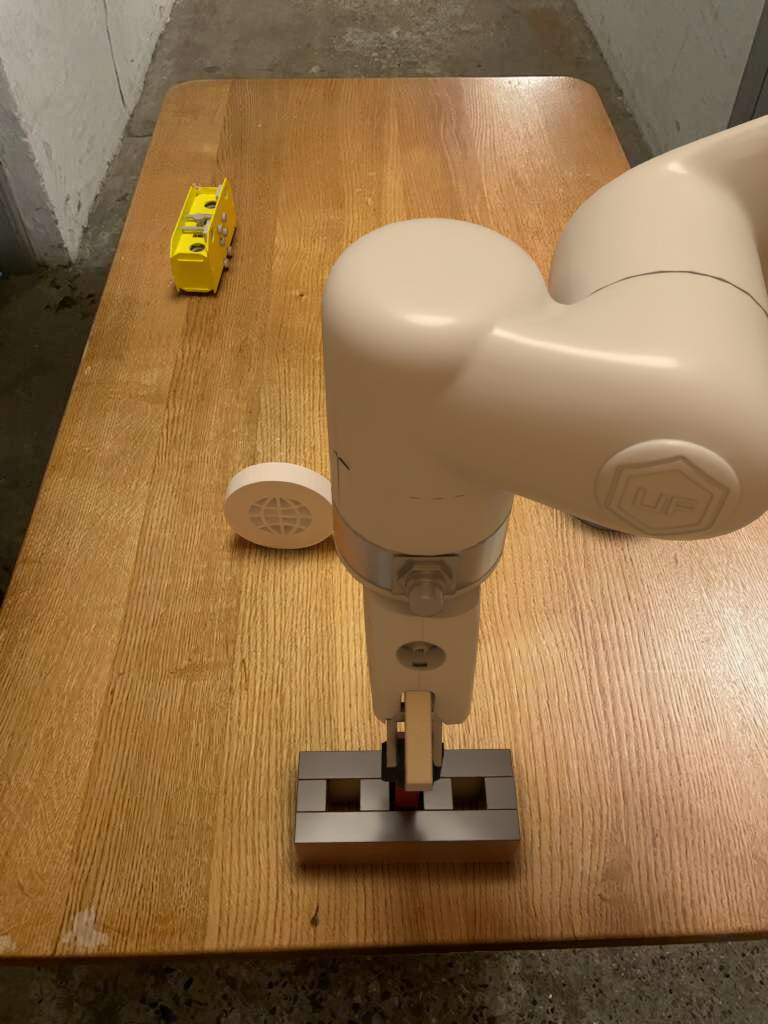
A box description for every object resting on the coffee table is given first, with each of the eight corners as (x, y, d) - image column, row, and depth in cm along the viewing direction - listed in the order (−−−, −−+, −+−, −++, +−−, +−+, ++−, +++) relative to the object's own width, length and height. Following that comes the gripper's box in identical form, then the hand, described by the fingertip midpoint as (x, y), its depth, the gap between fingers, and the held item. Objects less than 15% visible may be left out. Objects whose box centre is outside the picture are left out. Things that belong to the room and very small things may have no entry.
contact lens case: (231, 547, 81) (215, 479, 73) (235, 529, 83) (219, 460, 75) (458, 553, 81) (466, 485, 73) (457, 535, 82) (465, 466, 74)
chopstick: (415, 828, 64) (422, 754, 53) (394, 828, 64) (397, 754, 53) (414, 807, 65) (421, 730, 54) (394, 807, 65) (396, 731, 54)
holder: (512, 862, 63) (521, 840, 59) (299, 864, 63) (293, 843, 59) (503, 773, 67) (510, 748, 63) (303, 776, 67) (298, 750, 63)
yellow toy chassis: (220, 298, 106) (210, 240, 100) (176, 296, 106) (162, 238, 100) (240, 227, 116) (232, 170, 110) (200, 226, 116) (189, 169, 110)
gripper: (533, 696, 30) (484, 846, 44) (489, 375, 41) (460, 573, 54) (326, 698, 30) (340, 848, 43) (336, 375, 41) (345, 574, 54)
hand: (407, 695), depth 49 cm, fingers open, 9 cm apart
